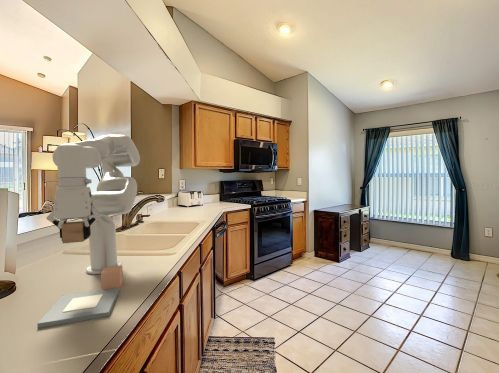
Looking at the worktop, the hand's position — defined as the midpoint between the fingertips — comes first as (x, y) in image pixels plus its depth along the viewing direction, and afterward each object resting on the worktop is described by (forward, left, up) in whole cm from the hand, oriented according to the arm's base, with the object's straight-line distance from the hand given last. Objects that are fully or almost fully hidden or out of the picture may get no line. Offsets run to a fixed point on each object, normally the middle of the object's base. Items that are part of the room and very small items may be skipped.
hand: (75, 238), depth 84 cm
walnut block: (0, 0, -1) cm, 1 cm away
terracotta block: (-1, +10, -18) cm, 20 cm away
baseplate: (+12, +5, -18) cm, 22 cm away
